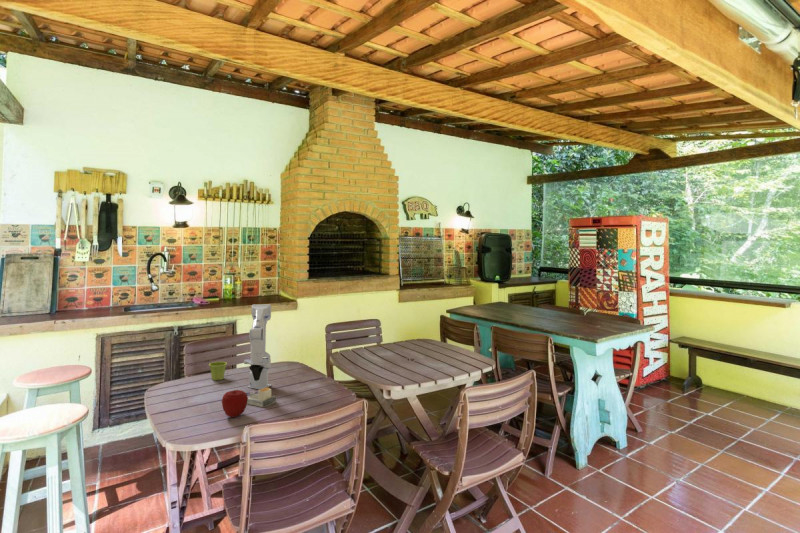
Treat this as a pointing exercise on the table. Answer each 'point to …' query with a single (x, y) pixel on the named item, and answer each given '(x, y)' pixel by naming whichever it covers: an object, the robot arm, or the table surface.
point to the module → (264, 394)
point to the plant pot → (217, 370)
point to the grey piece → (254, 401)
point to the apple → (234, 403)
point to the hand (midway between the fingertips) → (256, 380)
